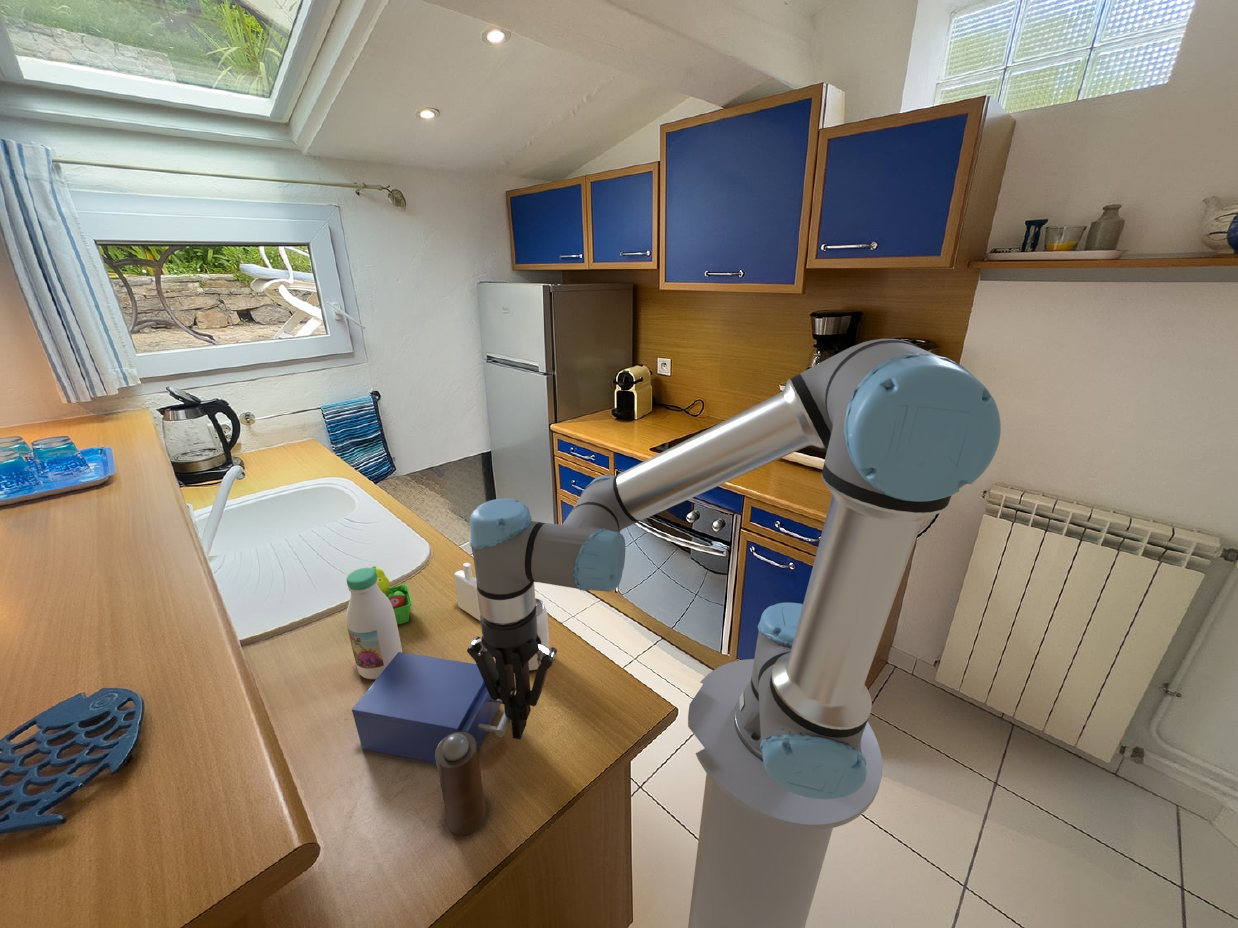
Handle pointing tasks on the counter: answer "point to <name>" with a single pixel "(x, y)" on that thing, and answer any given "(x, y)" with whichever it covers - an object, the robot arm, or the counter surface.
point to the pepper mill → (461, 782)
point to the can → (540, 631)
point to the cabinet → (416, 705)
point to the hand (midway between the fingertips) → (519, 730)
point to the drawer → (484, 718)
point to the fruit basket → (395, 597)
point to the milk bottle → (371, 624)
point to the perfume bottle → (467, 591)
